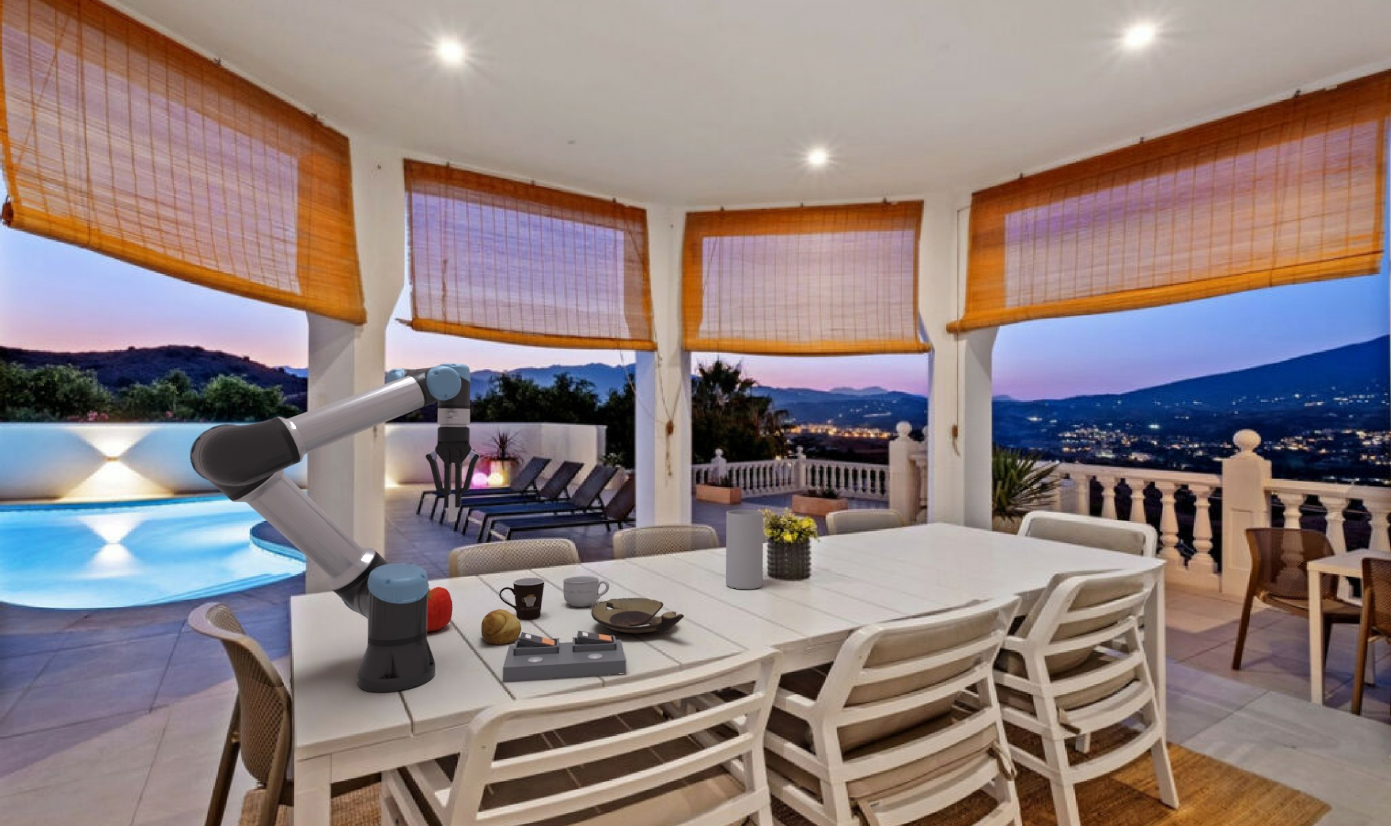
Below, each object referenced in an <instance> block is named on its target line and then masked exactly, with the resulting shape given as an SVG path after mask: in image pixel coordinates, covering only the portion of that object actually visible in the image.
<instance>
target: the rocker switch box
mask: <svg viewBox="0 0 1391 826" xmlns="http://www.w3.org/2000/svg"><path fill="white" fill-rule="evenodd" d="M610 636H612V641H613V643H608V644H588V643H581V642H577V636H575V637H573V636H572V641H571V642H570V641H569V642H568V641H567V642H566V641H565V642H560V637H559V638H557V637H556V638H551V639H552V640H555V646H553V647H531V646H527V645H523V644H519V640H520V639H516V640H514V644H513V645H512V644H511V645H508V649H507V652H506V656H505V659H504V663H503V667H502V682H503V683H504V682H506V683H507V682H520V681H519V680H524V681H537V680H538V679H539V680H552V679H553V680H554V679H568V678H569V679H570V678H583V677H585V676H587V677H600V676H599V675H603V676H609V675H608V674H619V673H626V672H627V671H626V669H627V667H626V665H627V663H626V662H627V659H626V655H625V652H624V646H623V642H622V639H616V636H615V635H610ZM626 674H627V673H626ZM619 675H620V674H619ZM585 678H586V677H585Z"/></svg>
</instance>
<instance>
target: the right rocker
mask: <svg viewBox="0 0 1391 826" xmlns="http://www.w3.org/2000/svg"><path fill="white" fill-rule="evenodd" d="M576 637H577V642H581V643H588V644H608V643H613V641H612V636H611V635H607V634H600V633H595V632H588V631H583V630H582V631H581V630H577V635H576Z"/></svg>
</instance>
